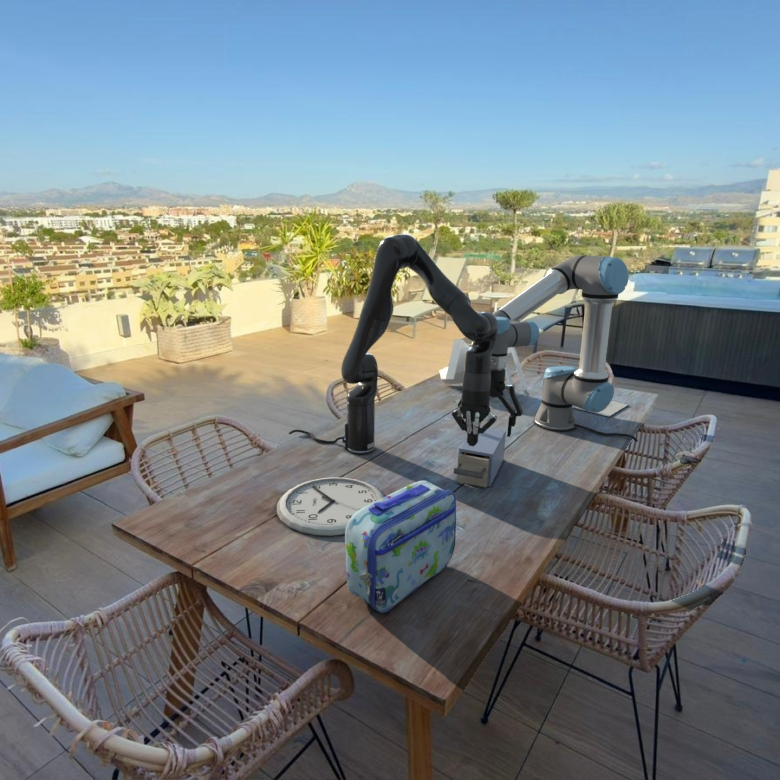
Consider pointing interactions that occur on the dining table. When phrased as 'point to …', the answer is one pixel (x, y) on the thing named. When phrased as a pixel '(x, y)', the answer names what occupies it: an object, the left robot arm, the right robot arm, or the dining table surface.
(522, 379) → the white plastic object
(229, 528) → the dining table surface
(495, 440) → the cabinet
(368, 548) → the lunch box
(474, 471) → the drawer
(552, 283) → the right robot arm
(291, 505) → the wall clock
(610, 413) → the invitation card
